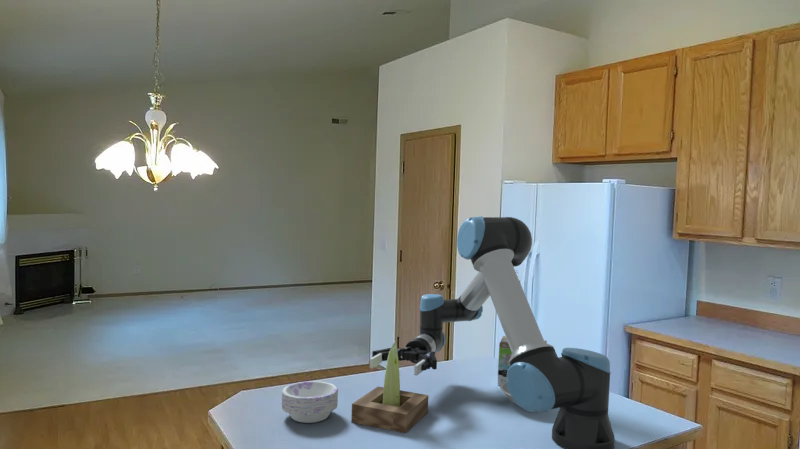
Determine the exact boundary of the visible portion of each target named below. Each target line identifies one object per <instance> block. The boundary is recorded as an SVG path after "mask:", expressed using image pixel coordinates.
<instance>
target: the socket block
mask: <svg viewBox="0 0 800 449" xmlns="http://www.w3.org/2000/svg"><path fill="white" fill-rule="evenodd" d="M383 391H384V386H376V387H375V388H373V389H372V390H370V391H369V392H368V393H367V392H366V394H365V395H363V396H361V397H360V398H358V399H357V400H356V401H354V402H353V403H351V423H353V424H359V425H364V426H369V427H373V428H378V429H383V430H388V431H393V432H398V433H403V434H407V433H408V432H409V431H410V430H411V429H412V428H413V427H414V426H416V424H418V423H419V422H420V421H421V419H423V418H424V417H425V416H426V415H428V413H429V395H428V394H424V393H417V392H413V391H405V390H402V389H400V407H396V406H391V405H385V404H383Z"/></svg>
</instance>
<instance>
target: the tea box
mask: <svg viewBox="0 0 800 449" xmlns="http://www.w3.org/2000/svg"><path fill="white" fill-rule="evenodd" d="M544 342H545V343H547V344H548V340H546V339H545V340H544ZM511 356H512V352H511V349H510V346H509V344H508V341H507V338H506V336H505V335H502V337H501V340H500V342H499V347H498V362H497V363H498V366H497V386H500V385H501V384H502V383H504V382H507V380H508V378H507V372H508V369H509V368H510V363H509V360H510V358H511Z"/></svg>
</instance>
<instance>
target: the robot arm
mask: <svg viewBox="0 0 800 449" xmlns="http://www.w3.org/2000/svg"><path fill="white" fill-rule="evenodd" d="M532 245H533V238H532V233H531V230H530V229H529V227H528V226H527V225H526V223H525V222H523V221H522V220H521V219H518V218H516V217H512V216H503V217H502V216H501V217H499V216H498V217H497V216H496V217H493V216H490V217H489V216H488V217H487V216H486V217H483V216H481V215H479V216H471V217H468V218H466V219H465V220H464V221H462V223H461V225H460V227H459V228H458V231H457V236H456V247H457V248H456V249H457V251H458V254H459V255H460V257H461V258H463V259H465V260H470V261H471V264H472V267H473V270H475V271H477V273H476V275H475V276H474V277H473V279H472V280H471V281H470V283H469V284H468V285H467V287H466V288H465V289H464V290H463V292H462V293H461V294H460V296H459V297H458V298H454V299H453V298H452V299H444V296H443V295H442V294H438V293H426V294H423V295H422V296H421V298H420V304H419V318H420V320H419V321H420V322H419V324H420V325H419V335H418V336H416V337H414V338H413V339H411V340H410V341H408V342H407V343H406V344H405V347H401V348H397V352H398V361H399V362H400V361H407V362H408V361H409V362H410V363H413V364H414V372H413V373H414V374H413V375H414V376H415V377H416V376H418V375H420V374H421V373H422V372H423V371H427V370H430V369H431V368H432V370H437V364H438V362H437V357H436V354H437V353H438V352H440V351H441V350H442V349H443V347H444V346H445V345H446V341H447V340H446V335H445V332H443V329H444V328H443V326H444V323H455V322H456V323H457V322H471V321H475V320H479V319H480V318H481V317H482V313H483V310H484V309H483V305H484V303H485V302H486V301H487V300H488V299H489V298H490V299H491V301H492V304H493V306H494V309H495V312H496V314H497V317H498V319H499V323H500V325H501V327H502V330H503V332H504V336H506V338H507V341H508V344H509V346H510V349H511V352H512V356H511V358H510V360H509V363H510V368H509V369H508V372H507V378H508V380H507V386H508V390H509V392H510V394H511V396H512V398H513V400H514V401H515V402H516V403H517V404H518V406H519V407H520V408H521V409H523V410H525V411H527V412H529V413H530V412H531V413H535V412H548V411H550V410H553V409H554V410H555V409H558V408H559V410H558V412H557V415H556V418H555V420H554V422H553V425H552V427H551V428H552V429H551V440H552V441H553V442H554V443H555V444H556V445H558V446H559V447H561V448H563V449H615V440H616V439H615V434H614V431H613V428H612V422H611V420H610V417H609V416H610V415H609V404H610V402H609V401H610V383H611V382H610V380H611V374H612V372H611V365H610V364H611V361H610V360H609V358H608V357H607V356H606V355H604V354H602V353H599V352H596V351H592V350H589V349H583V348H578V347H565V348H562V351H561V353H560V355H561V356H560V357H558V354H557V352H556V350H555V346H553V345H551V344H549V343H548V342H547V343H545V342H544V338H543V334H542V332H541V330H540V327H539V324H538V323H537V320H536V318H535V315H534V313H533V310H532V308H531V305H530V303H529V301H528V299H527V297H526V293H525V291H524V288H523V286H522V284H521V281H520V280H519V277H518V275H517V272H516V269H515V267H519V266H520V265H522V263H523V262H524V261H525V260H526V259H527V257H528V256H529V254H530V252H531V249H532ZM390 349H391V347H387V348H384V349H383V348H382V349H378V350H377V349H376V350H372V353H371V354H372V356H371V358H370V359H369V369H374V368H376V367H377V366H379V365H380V364H382V363H383V362H387V359H388V355H389V351H390ZM517 404H516V405H517Z"/></svg>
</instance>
